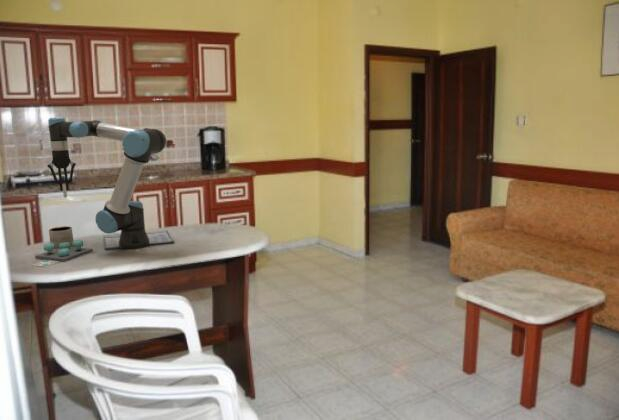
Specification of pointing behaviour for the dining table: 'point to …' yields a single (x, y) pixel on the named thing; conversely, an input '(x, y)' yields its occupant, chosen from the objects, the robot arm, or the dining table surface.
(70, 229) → the planter
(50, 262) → the card
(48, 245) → the button
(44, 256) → the board
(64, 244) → the button
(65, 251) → the button
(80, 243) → the button
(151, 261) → the dining table surface
